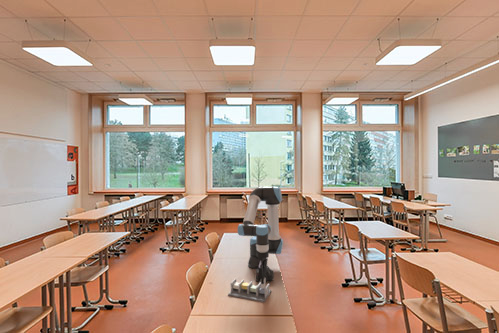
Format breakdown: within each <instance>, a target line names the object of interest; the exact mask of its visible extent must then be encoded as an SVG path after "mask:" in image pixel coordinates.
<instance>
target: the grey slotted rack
mask: <svg viewBox="0 0 499 333" xmlns="http://www.w3.org/2000/svg"><path fill="white" fill-rule="evenodd" d="M235 282H237V278H236V277H234V279H233V280H232V281H230V291H229V293H228V295H227V296H230V297H235V298H239V299H240V298H241V299H245V300H250V301H256V302H261V303H265V302H266V301H267V299H268V297H269V296H270V294H271V293H272V289H270V283H267V284H266V287H265V294H262V293H259V289H260V288H261V281H259V283H258V284H257V285H256V286H257V287H256V292H251V291H250V287H251V286H252V285H253V281H252V280H251V281H249V282H248V283H249V284H248V285H247V289H242V286H241V285H242V284H243V283H244V282H245V279H242V280H241V281H240V282H238V283H239V284H238V285H239V289H235V288H233V284H234V283H235Z"/></svg>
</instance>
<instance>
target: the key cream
mask: <svg viewBox="0 0 499 333" xmlns="http://www.w3.org/2000/svg"><path fill="white" fill-rule="evenodd" d="M239 283H240V282H238V281H236V282H235V283H234V284H233V288H235V289H239V285H238V284H239Z"/></svg>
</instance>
